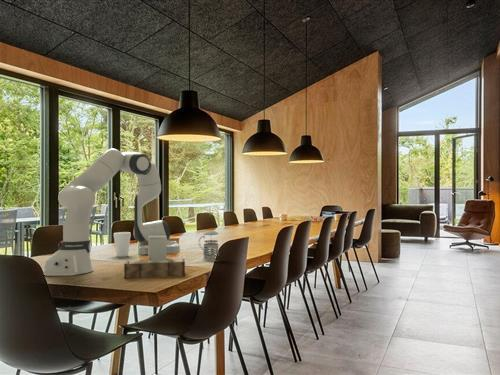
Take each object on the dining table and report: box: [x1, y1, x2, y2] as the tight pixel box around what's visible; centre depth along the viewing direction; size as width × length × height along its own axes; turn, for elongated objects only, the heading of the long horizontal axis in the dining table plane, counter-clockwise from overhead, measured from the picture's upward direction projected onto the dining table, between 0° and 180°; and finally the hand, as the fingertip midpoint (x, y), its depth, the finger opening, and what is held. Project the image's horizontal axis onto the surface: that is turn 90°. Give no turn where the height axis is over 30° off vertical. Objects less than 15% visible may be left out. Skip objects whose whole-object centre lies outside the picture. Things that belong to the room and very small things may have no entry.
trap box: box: [123, 258, 186, 279], centre depth 184 cm, size 25×9×7 cm, turn 99°
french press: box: [198, 212, 220, 262], centre depth 227 cm, size 10×12×25 cm
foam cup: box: [113, 231, 132, 258], centre depth 242 cm, size 10×9×13 cm
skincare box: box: [147, 236, 167, 261], centre depth 198 cm, size 8×7×16 cm
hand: (158, 251), depth 206 cm, fingers closed
